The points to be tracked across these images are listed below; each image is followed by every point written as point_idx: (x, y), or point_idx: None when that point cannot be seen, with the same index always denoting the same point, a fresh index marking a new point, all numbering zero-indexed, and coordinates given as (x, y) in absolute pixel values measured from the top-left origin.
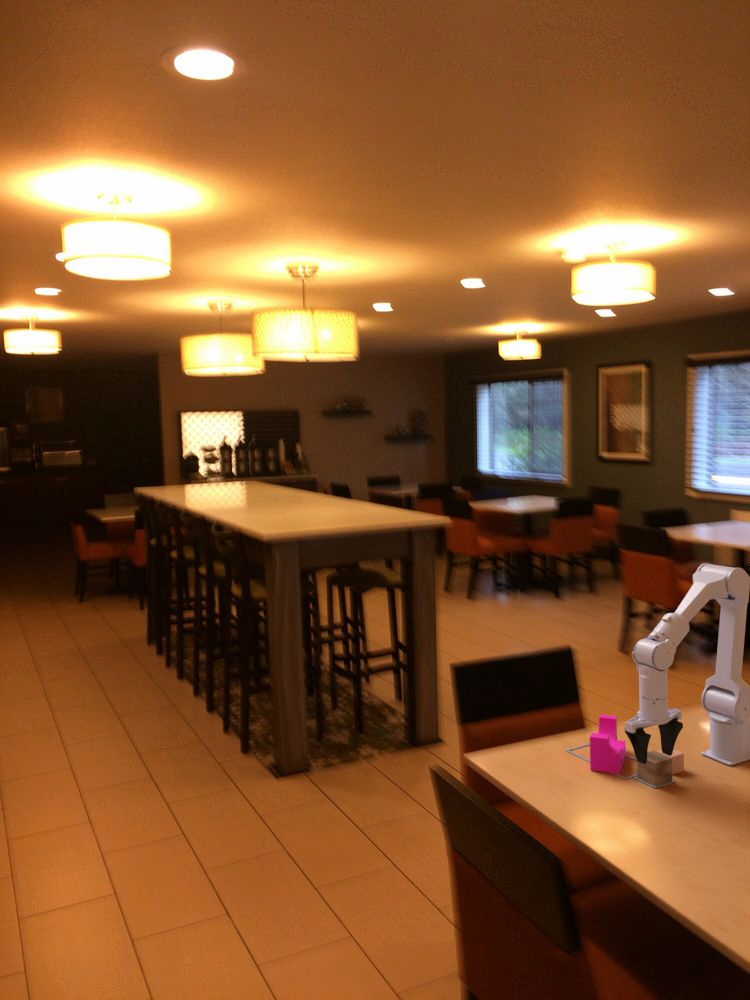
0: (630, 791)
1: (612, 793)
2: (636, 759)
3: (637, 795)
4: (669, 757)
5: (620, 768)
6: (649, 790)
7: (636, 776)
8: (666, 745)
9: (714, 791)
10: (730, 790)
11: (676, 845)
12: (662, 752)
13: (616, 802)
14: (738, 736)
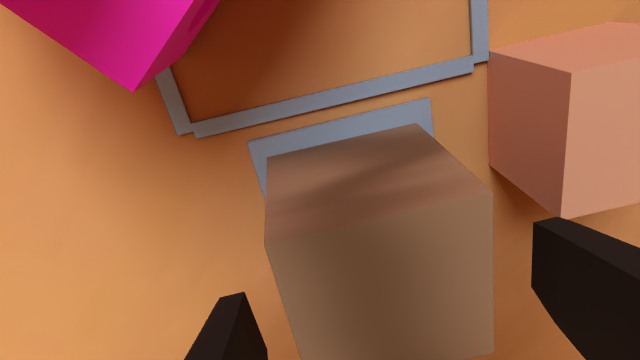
0: (144, 277)
1: (27, 275)
2: (213, 309)
3: (162, 318)
4: (488, 339)
5: (205, 18)
6: (253, 289)
7: (273, 138)
8: (594, 313)
9: (517, 351)
10: (578, 355)
11: None
12: (535, 224)
13: (17, 354)
14: None
